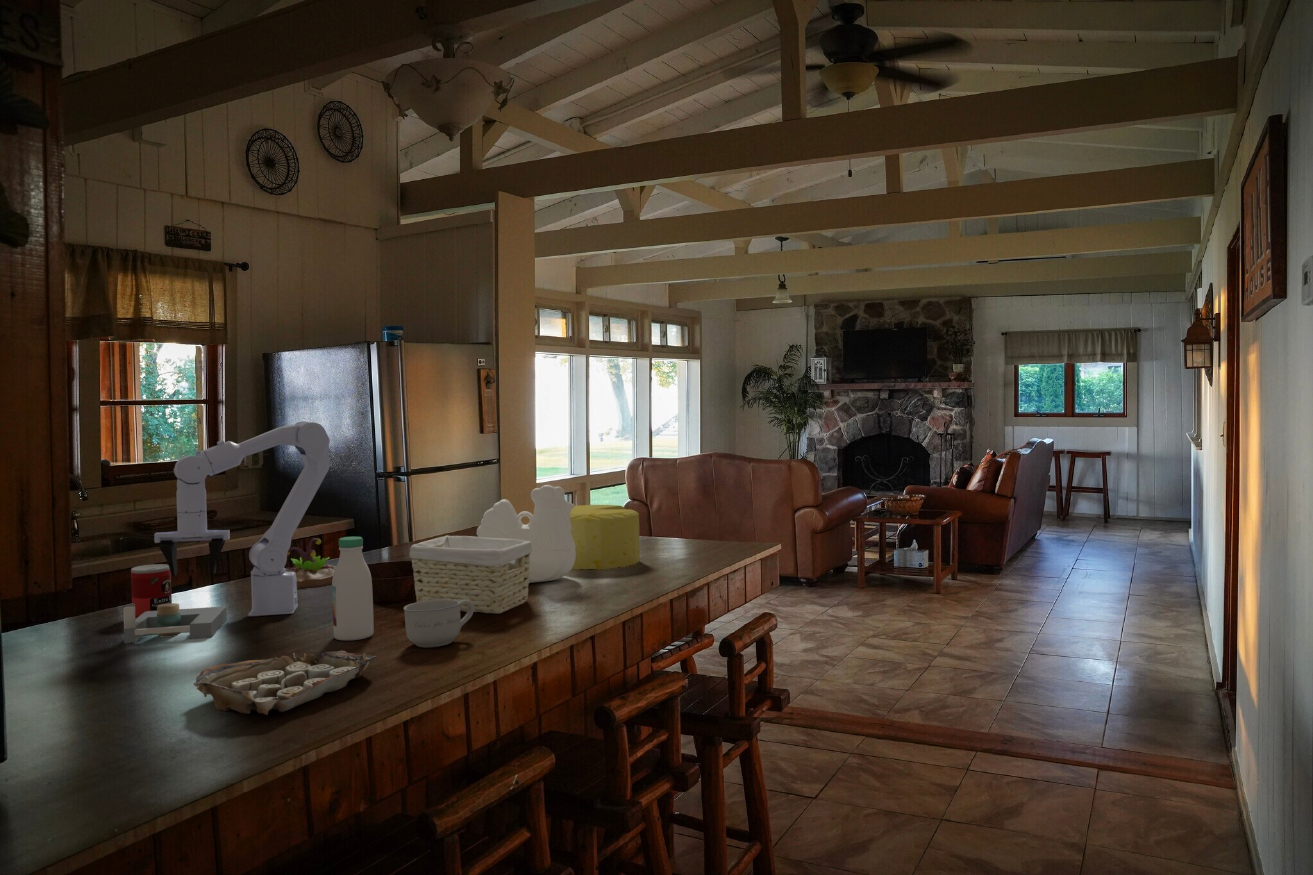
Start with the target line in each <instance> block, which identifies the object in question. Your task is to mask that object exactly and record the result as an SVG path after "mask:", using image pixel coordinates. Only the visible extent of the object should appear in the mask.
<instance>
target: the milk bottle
mask: <svg viewBox="0 0 1313 875" xmlns="http://www.w3.org/2000/svg"><path fill="white" fill-rule="evenodd" d="M363 544H364V539H363V537H362V536H344V537H340V538H339V539H338V547H339V548H338V550H339V558H338V561H337V564H336V565H335V566H336V568H335V571H334V574H333V580H332V584H331V586H332V587H331V591H332V594H331V599H332V600H331V601H332V627H333V628H332V630H333V632H332V633H333V637H334V639H336V640H338V641H344V642H345V641H359V640H364V639H368V638H370V637H372V636H373V634H374V631H375V630H374V629H375V628H374V600H373V595H374V594H373V583H372V582H373V581H372V580H373V578H372V575H371V571H370V568H369V566H368V564H367V563H366V560H365V559H364V554H363V548H364V546H363Z"/></svg>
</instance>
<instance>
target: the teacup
mask: <svg viewBox="0 0 1313 875" xmlns="http://www.w3.org/2000/svg"><path fill="white" fill-rule="evenodd" d="M463 605H467V606H468V612H466V613H465V615H464V616H463V618H461V611H460V609H461V607H462V606H463ZM403 611H404V623H405V633H406V637H407V639H408V640H409V641H410V642H412V643H413V644H415V645H416V646H417V647H418V648H427V649H428V648H437V647H442V646H443V647H444V646H447V645H449V644H451V643H452V642H453V641H454V640H455V638H457V637H458V636H459V634H460V632H461V629H462V627H463V626H464V625H465V624H466V623H467V622H468V621H469V620H470V619H471V618H472V617H473V614H474V613H475V612H474V606H473V604H472V603H471V602H470V601H469V600H461V601H457V600H450V599H442V600H430V601H422V602H417V601H416V602H414V603H413V602H412V603H409V604H407V605H405V606H404V607H403Z"/></svg>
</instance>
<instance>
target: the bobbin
mask: <svg viewBox="0 0 1313 875" xmlns="http://www.w3.org/2000/svg"><path fill="white" fill-rule="evenodd" d="M179 609H180V603H176V602H175V603H173V602H172V603H170V604H163V605H159V606H157V628H159V627H173V626H181V618H180V611H179ZM178 634H179V635H180V634H181V632H174V633H160V634H157V636H158V637H159V636H172V637H175V636H174V635H176V636H179V635H178Z"/></svg>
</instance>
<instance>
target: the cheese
mask: <svg viewBox="0 0 1313 875" xmlns="http://www.w3.org/2000/svg"><path fill="white" fill-rule="evenodd" d="M570 515H571V518H570V522H571V530H570V532H571V534H572V537H573V540H574V543H575V546H576V547H575V552H576V558H575V563H574V565H573V567H572V569H603V570H610V569H609V568H615V569H618V568H617V567H621V568H627V567H630V566H629V565H631V566H634V565H637V564H638V563H640V562H641V555H640V553H641V552H640V551H641V550H640V514H639V512H638V511H636V510H633V509H629V508H628V509H626V508H625V507H624V506H622V505H617V504H616V505H615V504H585V505H583V504H582V505H574V507H573V509H572V510H571V512H570ZM639 561H640V562H639ZM637 562H638V563H637ZM636 563H637V564H636ZM633 564H634V565H633ZM626 566H627V567H626ZM572 569H571V570H572Z"/></svg>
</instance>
